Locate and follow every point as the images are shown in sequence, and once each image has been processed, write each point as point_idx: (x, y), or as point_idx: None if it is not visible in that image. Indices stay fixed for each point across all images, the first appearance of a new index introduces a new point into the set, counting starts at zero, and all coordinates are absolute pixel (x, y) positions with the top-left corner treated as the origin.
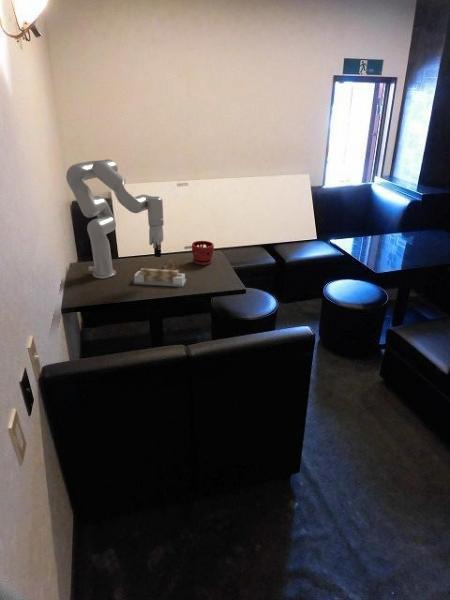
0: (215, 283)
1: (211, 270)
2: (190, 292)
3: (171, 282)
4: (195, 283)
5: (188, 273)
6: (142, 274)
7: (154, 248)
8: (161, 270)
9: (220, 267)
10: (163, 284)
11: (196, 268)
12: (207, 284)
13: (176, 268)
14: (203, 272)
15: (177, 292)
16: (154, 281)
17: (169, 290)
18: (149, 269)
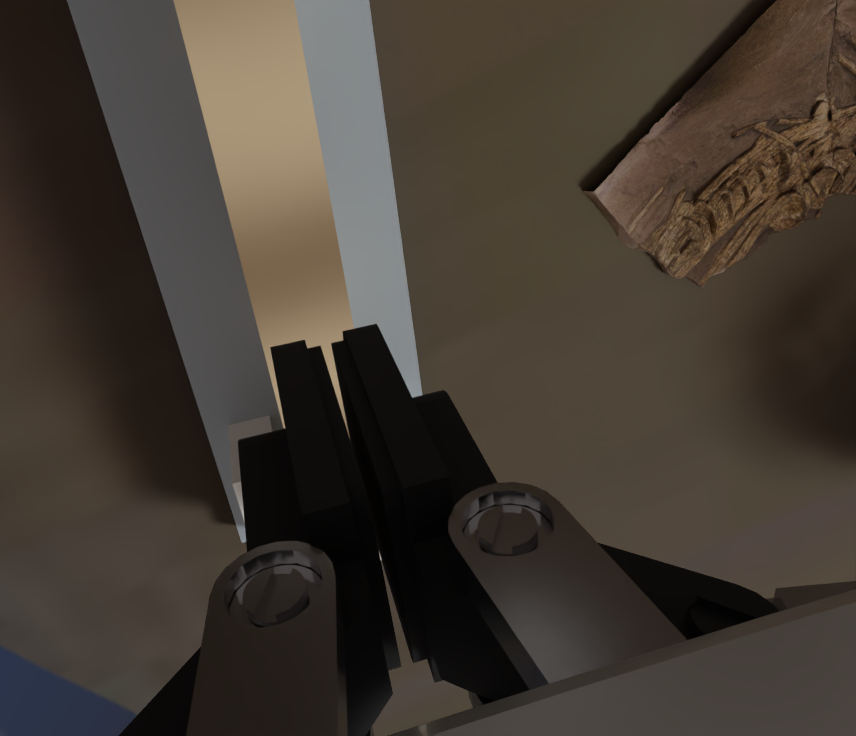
0: (443, 716)
1: (763, 549)
2: (119, 660)
3: (263, 386)
4: (387, 585)
5: (663, 390)
6: None
7: (131, 724)
8: (285, 309)
9: (838, 578)
10: (164, 302)
11: (819, 399)
12: (398, 679)
13: (809, 184)
14: (706, 512)
15: (37, 556)
16: (189, 118)
17: (41, 448)
18: (238, 17)
